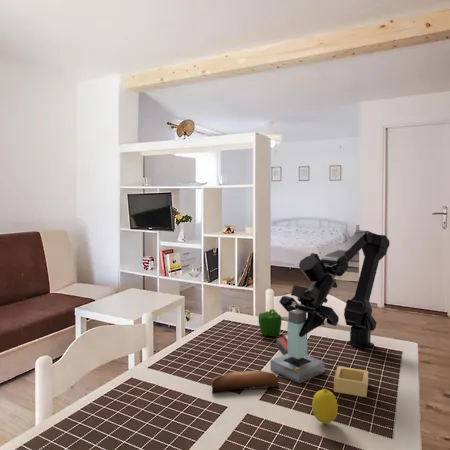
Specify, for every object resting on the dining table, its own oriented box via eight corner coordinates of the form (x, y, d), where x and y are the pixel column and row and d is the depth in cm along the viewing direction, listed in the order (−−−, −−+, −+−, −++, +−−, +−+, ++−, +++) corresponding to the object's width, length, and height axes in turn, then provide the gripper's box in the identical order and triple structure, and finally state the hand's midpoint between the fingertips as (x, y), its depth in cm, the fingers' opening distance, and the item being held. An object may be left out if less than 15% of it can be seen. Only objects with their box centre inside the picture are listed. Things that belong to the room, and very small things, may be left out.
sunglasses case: (271, 374, 111) (274, 359, 107) (276, 397, 105) (280, 382, 102) (208, 379, 109) (209, 364, 105) (211, 402, 103) (212, 387, 99)
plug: (296, 351, 116) (296, 308, 115) (307, 355, 113) (307, 311, 112) (287, 354, 113) (287, 311, 112) (298, 359, 110) (298, 314, 109)
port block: (295, 359, 121) (295, 349, 121) (324, 372, 112) (324, 360, 112) (270, 369, 114) (270, 358, 114) (299, 383, 106) (299, 371, 105)
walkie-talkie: (313, 359, 122) (293, 337, 142) (313, 345, 122) (293, 325, 142) (286, 361, 121) (270, 338, 141) (286, 347, 121) (270, 326, 141)
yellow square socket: (337, 378, 108) (337, 366, 108) (367, 383, 105) (368, 370, 105) (333, 391, 101) (334, 378, 101) (366, 397, 98) (366, 383, 98)
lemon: (308, 417, 89) (309, 384, 89) (332, 416, 90) (332, 382, 89) (316, 432, 84) (316, 396, 83) (341, 430, 84) (341, 394, 83)
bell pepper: (255, 331, 147) (255, 306, 146) (276, 329, 149) (276, 304, 148) (263, 339, 139) (263, 312, 138) (284, 337, 141) (284, 310, 140)
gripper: (283, 270, 121) (257, 311, 115) (332, 279, 106) (306, 327, 100) (300, 291, 127) (276, 331, 121) (349, 302, 112) (325, 349, 106)
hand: (294, 334), depth 112 cm, fingers closed on plug, 4 cm apart
